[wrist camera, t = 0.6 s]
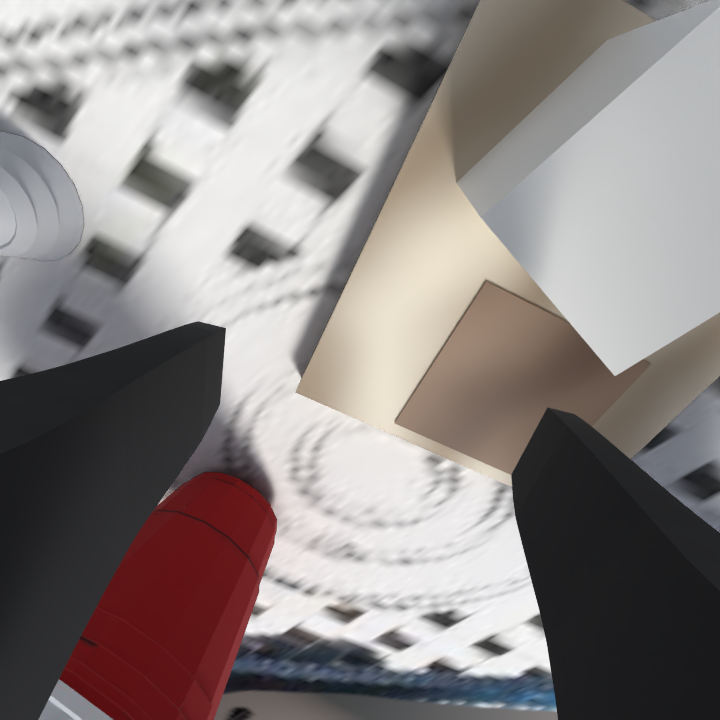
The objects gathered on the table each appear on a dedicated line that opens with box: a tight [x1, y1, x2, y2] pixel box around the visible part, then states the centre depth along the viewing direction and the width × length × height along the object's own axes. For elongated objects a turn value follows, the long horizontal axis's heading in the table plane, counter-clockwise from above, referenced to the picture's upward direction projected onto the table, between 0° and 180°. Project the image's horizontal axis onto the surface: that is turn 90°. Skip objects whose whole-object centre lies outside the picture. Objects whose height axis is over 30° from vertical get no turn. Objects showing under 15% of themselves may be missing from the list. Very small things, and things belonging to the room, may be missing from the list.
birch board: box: [296, 0, 720, 487], centre depth 17 cm, size 15×17×1 cm
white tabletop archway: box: [457, 0, 720, 376], centre depth 12 cm, size 6×6×6 cm
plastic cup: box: [39, 472, 277, 720], centre depth 20 cm, size 11×11×12 cm
